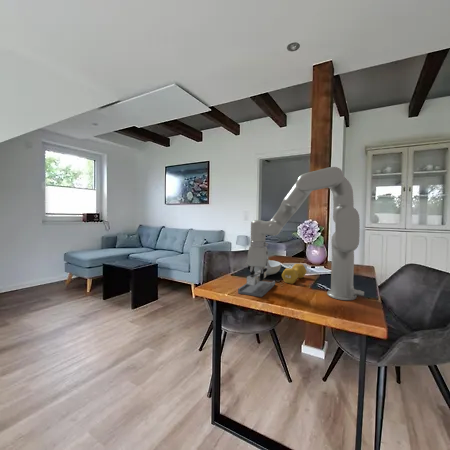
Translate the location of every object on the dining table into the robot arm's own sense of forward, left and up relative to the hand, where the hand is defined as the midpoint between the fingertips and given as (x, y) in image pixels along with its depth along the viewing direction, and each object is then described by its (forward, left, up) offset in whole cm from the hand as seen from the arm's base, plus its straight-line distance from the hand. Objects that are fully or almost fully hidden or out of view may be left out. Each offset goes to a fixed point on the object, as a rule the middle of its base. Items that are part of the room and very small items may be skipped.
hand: (257, 279), depth 131 cm
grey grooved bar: (0, 0, 0) cm, 0 cm away
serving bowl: (+7, -32, -5) cm, 33 cm away
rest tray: (0, 0, -5) cm, 5 cm away
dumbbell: (-13, -26, -5) cm, 30 cm away
